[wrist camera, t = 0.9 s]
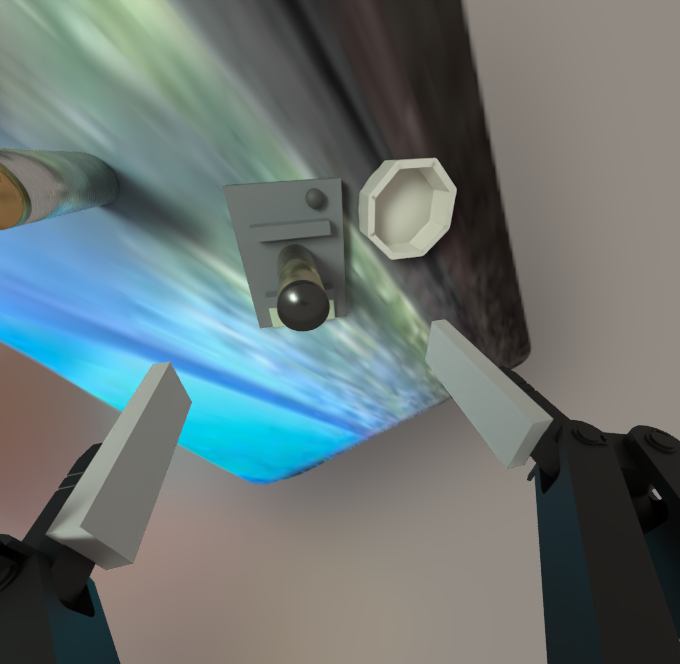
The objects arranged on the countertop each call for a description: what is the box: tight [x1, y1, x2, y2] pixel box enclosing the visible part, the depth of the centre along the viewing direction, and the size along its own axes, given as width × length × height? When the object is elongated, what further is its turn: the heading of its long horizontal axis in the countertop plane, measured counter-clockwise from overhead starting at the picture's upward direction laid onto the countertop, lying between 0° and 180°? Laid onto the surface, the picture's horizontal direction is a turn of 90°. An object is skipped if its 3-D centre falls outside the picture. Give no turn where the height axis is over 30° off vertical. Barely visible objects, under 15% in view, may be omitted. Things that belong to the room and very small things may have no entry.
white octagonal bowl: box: [358, 158, 457, 260], centre depth 25 cm, size 8×8×4 cm
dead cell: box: [277, 244, 330, 331], centre depth 22 cm, size 4×4×10 cm
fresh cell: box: [0, 148, 119, 230], centre depth 16 cm, size 4×4×10 cm
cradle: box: [223, 178, 346, 328], centre depth 26 cm, size 14×10×3 cm
